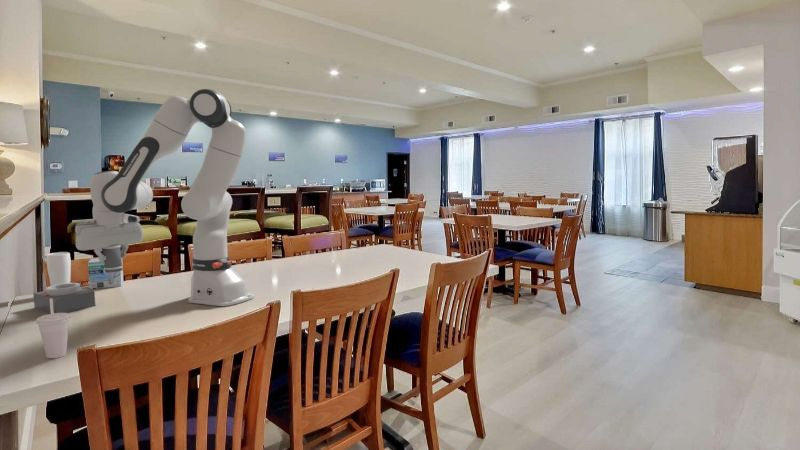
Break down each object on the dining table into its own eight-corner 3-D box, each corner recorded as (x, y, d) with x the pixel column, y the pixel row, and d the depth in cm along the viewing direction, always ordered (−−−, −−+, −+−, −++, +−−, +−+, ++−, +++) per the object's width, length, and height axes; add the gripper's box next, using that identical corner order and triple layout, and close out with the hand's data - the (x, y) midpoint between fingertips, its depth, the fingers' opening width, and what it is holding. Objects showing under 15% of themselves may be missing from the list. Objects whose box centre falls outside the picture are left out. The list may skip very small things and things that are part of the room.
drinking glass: (60, 297, 153) (56, 255, 151) (44, 296, 154) (40, 255, 152) (77, 292, 159) (74, 252, 158) (62, 291, 161) (59, 251, 159)
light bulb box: (89, 289, 164) (86, 261, 163) (91, 285, 170) (89, 258, 169) (122, 286, 169) (120, 259, 168) (124, 282, 175) (122, 256, 174)
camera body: (95, 305, 144) (93, 285, 143) (56, 314, 134) (55, 292, 133) (73, 299, 150) (71, 280, 149) (34, 308, 141) (32, 287, 140)
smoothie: (67, 348, 109) (62, 293, 107) (77, 354, 105) (73, 298, 103) (35, 356, 103) (30, 299, 102) (44, 363, 100) (39, 304, 98)
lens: (125, 269, 150) (123, 244, 149) (110, 272, 145) (107, 246, 144) (117, 268, 152) (115, 243, 151) (101, 271, 148) (99, 245, 147)
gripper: (79, 222, 136) (84, 265, 138) (144, 216, 154) (147, 255, 156) (69, 222, 139) (73, 264, 141) (133, 216, 157) (136, 253, 159)
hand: (112, 259), depth 148 cm, fingers closed on lens, 5 cm apart
